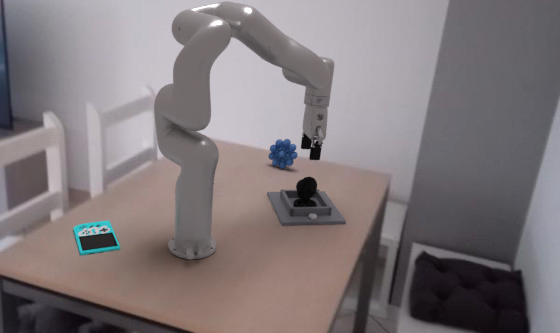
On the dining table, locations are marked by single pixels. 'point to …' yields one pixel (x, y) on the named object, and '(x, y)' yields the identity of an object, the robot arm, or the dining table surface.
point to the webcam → (306, 192)
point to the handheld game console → (95, 237)
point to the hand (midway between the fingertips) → (310, 154)
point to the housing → (304, 209)
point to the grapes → (283, 153)
